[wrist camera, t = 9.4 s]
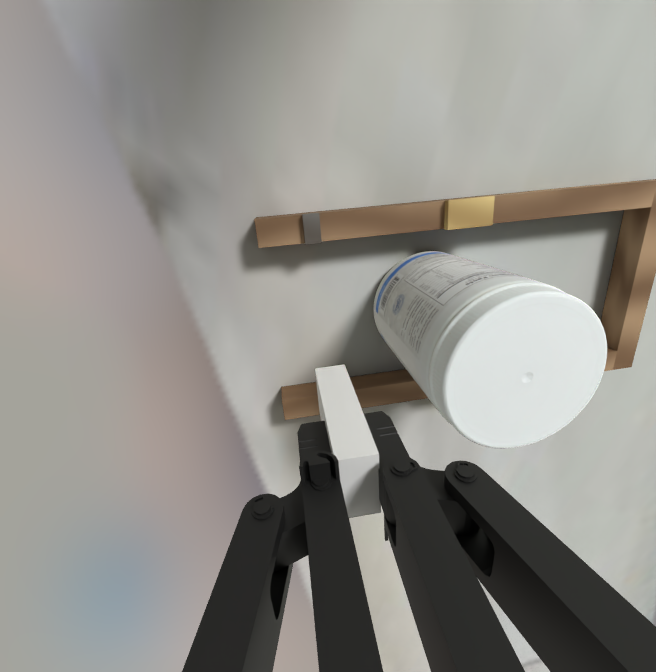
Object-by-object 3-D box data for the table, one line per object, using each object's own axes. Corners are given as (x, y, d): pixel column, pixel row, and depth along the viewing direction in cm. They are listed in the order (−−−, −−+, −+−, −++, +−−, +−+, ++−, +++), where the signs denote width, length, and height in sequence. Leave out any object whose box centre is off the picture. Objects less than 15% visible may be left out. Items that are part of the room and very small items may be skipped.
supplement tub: (479, 331, 34) (613, 421, 21) (385, 365, 34) (459, 477, 21) (462, 231, 31) (613, 261, 17) (357, 269, 31) (424, 330, 17)
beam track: (255, 216, 28) (253, 219, 25) (651, 178, 31) (687, 177, 29) (284, 405, 34) (285, 424, 31) (610, 357, 38) (637, 370, 35)
